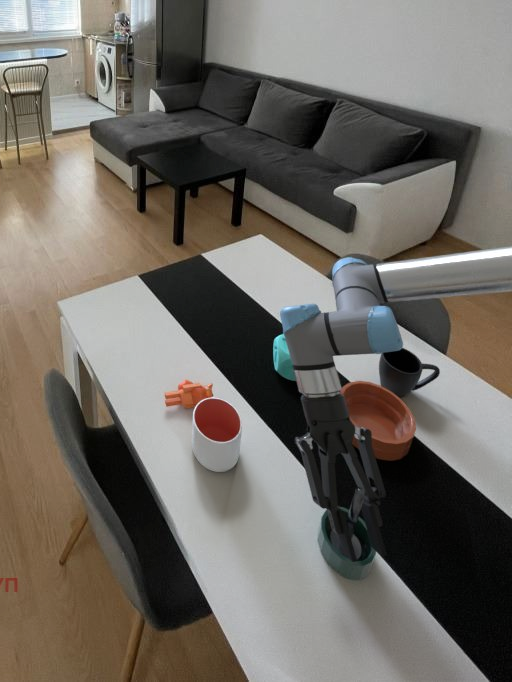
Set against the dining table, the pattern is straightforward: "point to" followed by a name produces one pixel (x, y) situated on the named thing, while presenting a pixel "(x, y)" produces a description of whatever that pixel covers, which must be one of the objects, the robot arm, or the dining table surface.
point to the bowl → (380, 418)
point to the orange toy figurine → (188, 394)
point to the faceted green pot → (340, 562)
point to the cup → (216, 434)
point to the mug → (403, 372)
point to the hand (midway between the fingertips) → (364, 554)
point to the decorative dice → (282, 358)
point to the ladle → (351, 524)
